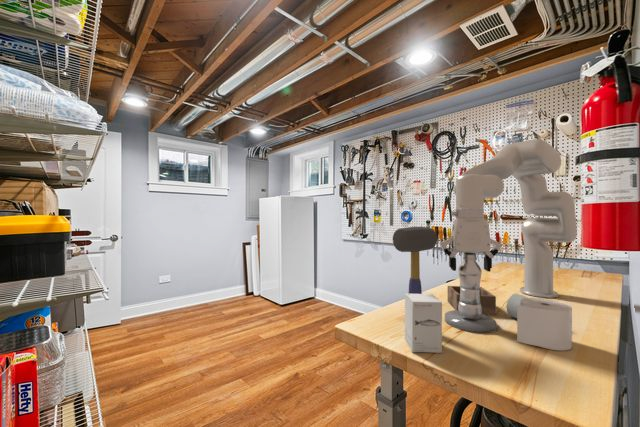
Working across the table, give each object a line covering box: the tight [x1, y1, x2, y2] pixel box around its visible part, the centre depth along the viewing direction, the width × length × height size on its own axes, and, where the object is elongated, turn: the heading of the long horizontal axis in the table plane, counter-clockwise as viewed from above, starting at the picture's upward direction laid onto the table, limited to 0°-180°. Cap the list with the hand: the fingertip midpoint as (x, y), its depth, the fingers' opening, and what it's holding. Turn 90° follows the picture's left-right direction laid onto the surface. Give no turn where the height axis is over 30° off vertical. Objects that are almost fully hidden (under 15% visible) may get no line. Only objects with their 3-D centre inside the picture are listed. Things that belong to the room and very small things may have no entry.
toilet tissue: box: [516, 296, 573, 351], centre depth 73 cm, size 11×12×10 cm
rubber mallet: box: [392, 226, 438, 294], centre depth 83 cm, size 12×8×30 cm, turn 119°
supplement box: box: [404, 293, 443, 354], centre depth 71 cm, size 7×7×13 cm
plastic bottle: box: [457, 252, 482, 319], centre depth 86 cm, size 6×7×20 cm
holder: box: [447, 285, 497, 315], centre depth 99 cm, size 12×12×6 cm
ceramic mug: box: [506, 293, 529, 319], centre depth 87 cm, size 11×8×8 cm
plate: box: [444, 309, 498, 334], centre depth 85 cm, size 14×14×2 cm
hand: (470, 270), depth 86 cm, fingers open, 9 cm apart
